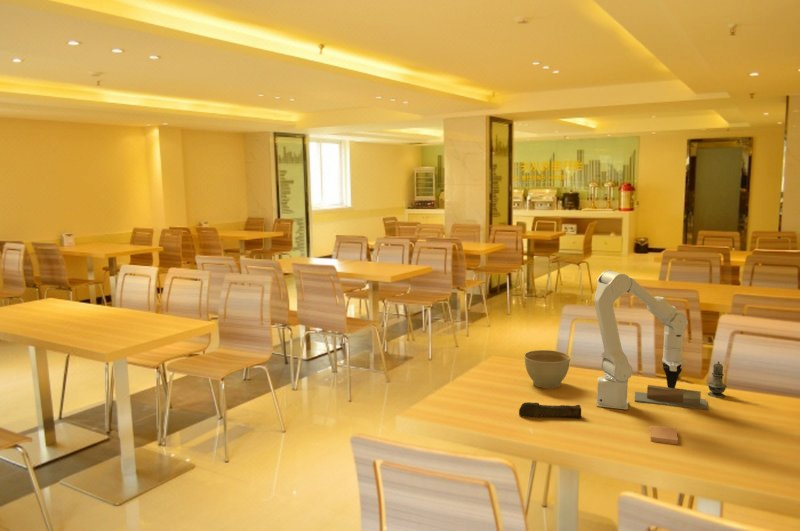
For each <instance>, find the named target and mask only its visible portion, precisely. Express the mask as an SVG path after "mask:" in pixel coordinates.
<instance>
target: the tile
mask: <svg viewBox="0 0 800 531" xmlns="http://www.w3.org/2000/svg"><path fill="white" fill-rule="evenodd" d="M649 436H650V438H649V439H650V442H655V443H664V444H670V445H679V438H678V434H677V429H676V428H675V427H668V426H667V427H666V426H658V425H649Z"/></svg>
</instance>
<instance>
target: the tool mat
mask: <svg viewBox="0 0 800 531" xmlns="http://www.w3.org/2000/svg"><path fill="white" fill-rule="evenodd" d="M634 402H635V403H636V402H637V403H643V404H654V405H662V406H671V407H679V408H680V407H681V408H689V409H697V410H707V411H709V406H708V402H707V399H706V398H700V406H698V405H691V404H684V403H676V402H669V401H662V400H654V399H647V392H640V391H635V392H634Z"/></svg>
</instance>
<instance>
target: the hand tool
mask: <svg viewBox="0 0 800 531" xmlns="http://www.w3.org/2000/svg"><path fill="white" fill-rule="evenodd" d="M518 416H520V417H523V416H524V417H525V418H534V417H535V418H536V417H538V418H539V417H558V418H559V417H561V418H564V417H566V418H567V417H568V418H578V419H579V420H580V419H581V418H582V407H581V405H580V404H576V405H564V404H561V405H551V404H550V405H547V404H540V403H539V402H530V401H529V402H523V403H522V404H521V405H520V407H519V410H518ZM524 417H523V418H524Z"/></svg>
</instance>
